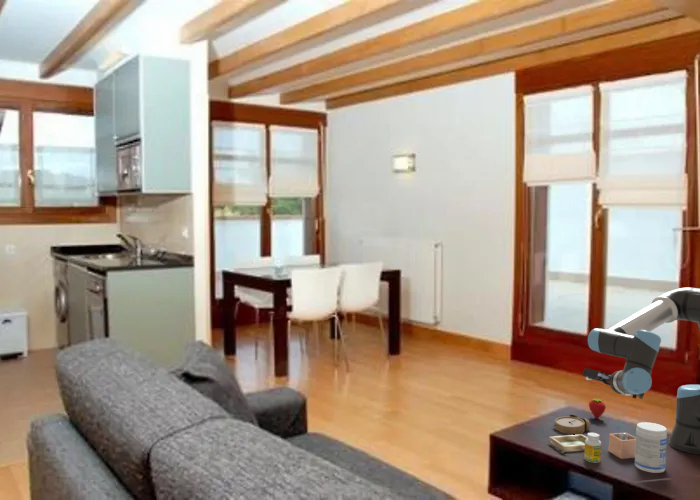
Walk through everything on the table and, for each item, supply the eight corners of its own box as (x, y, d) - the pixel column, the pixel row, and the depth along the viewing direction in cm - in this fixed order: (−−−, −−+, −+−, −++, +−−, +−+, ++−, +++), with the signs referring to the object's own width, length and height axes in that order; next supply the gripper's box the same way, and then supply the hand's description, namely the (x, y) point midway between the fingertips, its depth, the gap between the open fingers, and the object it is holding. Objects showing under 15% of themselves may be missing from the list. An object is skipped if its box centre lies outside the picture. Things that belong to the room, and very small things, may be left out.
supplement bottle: (590, 457, 229) (591, 430, 228) (603, 462, 225) (605, 435, 224) (580, 460, 226) (582, 433, 225) (594, 465, 222) (595, 438, 221)
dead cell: (624, 452, 233) (625, 431, 232) (630, 455, 230) (631, 434, 229) (616, 452, 232) (617, 432, 231) (622, 456, 229) (623, 435, 228)
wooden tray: (581, 440, 245) (582, 434, 245) (598, 450, 235) (598, 443, 235) (548, 443, 241) (549, 436, 241) (564, 453, 232) (564, 446, 231)
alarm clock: (548, 420, 258) (574, 409, 265) (549, 432, 259) (575, 420, 266) (570, 429, 249) (596, 417, 256) (571, 441, 249) (597, 428, 256)
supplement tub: (666, 476, 214) (668, 433, 213) (634, 471, 217) (637, 429, 216) (663, 465, 223) (666, 424, 222) (633, 461, 226) (635, 420, 225)
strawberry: (596, 422, 266) (597, 398, 265) (584, 416, 273) (585, 393, 272) (608, 421, 267) (609, 397, 267) (596, 415, 275) (597, 392, 274)
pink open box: (625, 451, 235) (626, 432, 235) (638, 458, 228) (639, 439, 228) (608, 452, 233) (609, 433, 233) (621, 460, 227) (622, 441, 226)
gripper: (581, 378, 206) (568, 380, 227) (660, 409, 201) (639, 408, 222) (589, 356, 208) (575, 360, 228) (668, 386, 203) (646, 387, 223)
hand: (607, 383), depth 225 cm, fingers open, 13 cm apart
